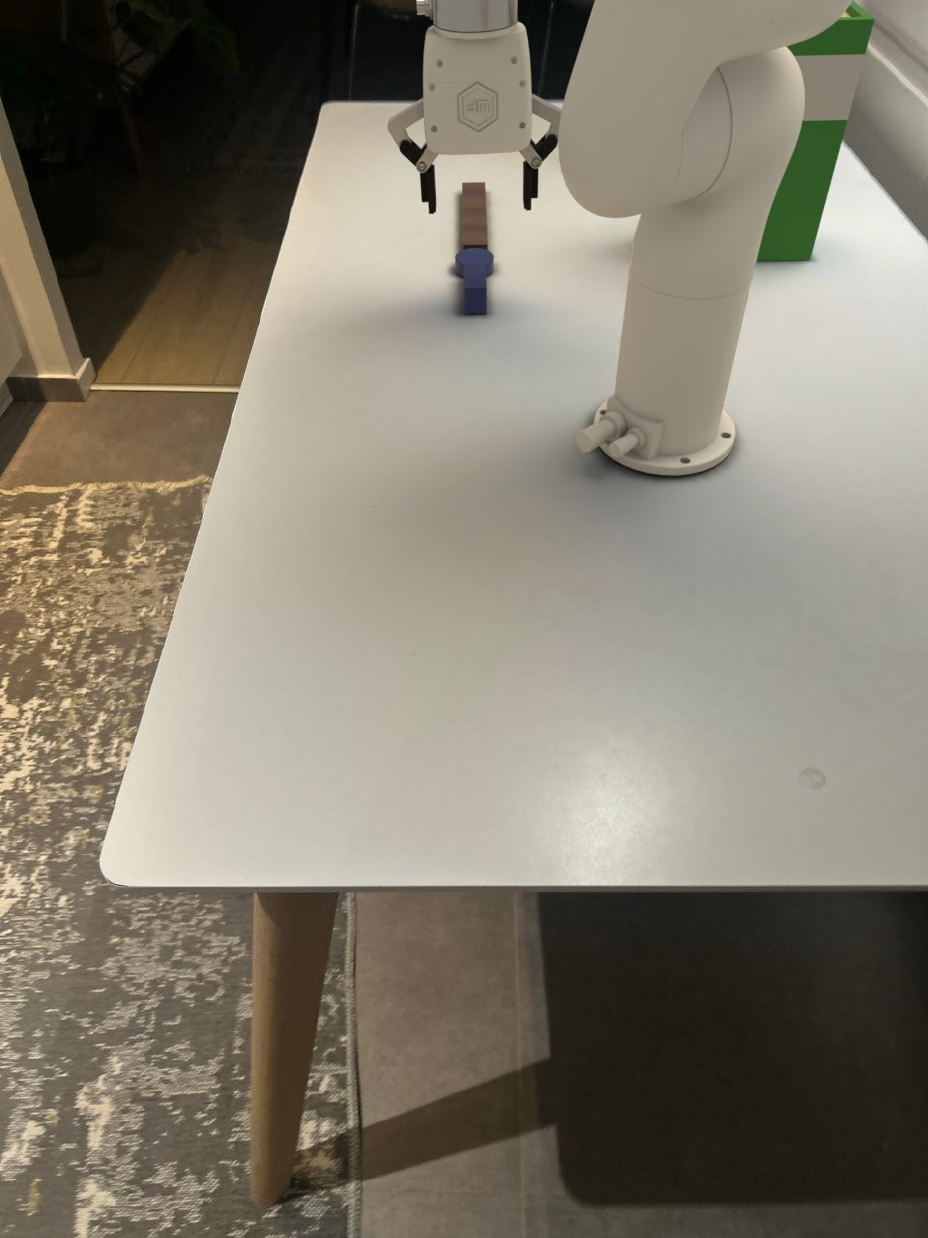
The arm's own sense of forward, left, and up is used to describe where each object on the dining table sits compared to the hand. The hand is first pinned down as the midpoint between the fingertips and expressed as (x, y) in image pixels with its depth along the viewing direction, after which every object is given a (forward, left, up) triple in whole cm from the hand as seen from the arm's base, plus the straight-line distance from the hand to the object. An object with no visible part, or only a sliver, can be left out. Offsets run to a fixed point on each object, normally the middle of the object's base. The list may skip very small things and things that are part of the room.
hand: (479, 206), depth 94 cm
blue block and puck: (+1, +3, -10) cm, 11 cm away
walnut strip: (+12, +15, -10) cm, 22 cm away
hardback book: (+30, -10, -10) cm, 33 cm away
